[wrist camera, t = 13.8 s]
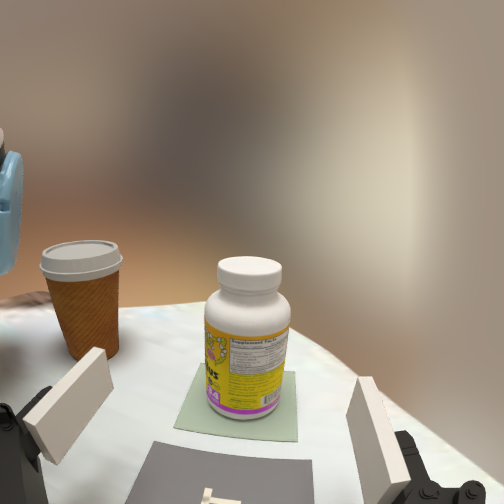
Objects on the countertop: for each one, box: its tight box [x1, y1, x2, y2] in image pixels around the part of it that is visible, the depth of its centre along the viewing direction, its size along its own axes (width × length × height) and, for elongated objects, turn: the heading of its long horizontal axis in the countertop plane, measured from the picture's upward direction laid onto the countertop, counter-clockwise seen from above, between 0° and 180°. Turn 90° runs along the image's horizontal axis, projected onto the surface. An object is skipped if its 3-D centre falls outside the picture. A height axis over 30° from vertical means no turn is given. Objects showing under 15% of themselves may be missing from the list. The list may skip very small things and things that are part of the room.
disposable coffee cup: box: [40, 240, 123, 361], centre depth 29 cm, size 10×10×12 cm
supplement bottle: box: [204, 256, 291, 420], centre depth 24 cm, size 7×7×13 cm
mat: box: [173, 363, 298, 442], centre depth 25 cm, size 10×10×1 cm
